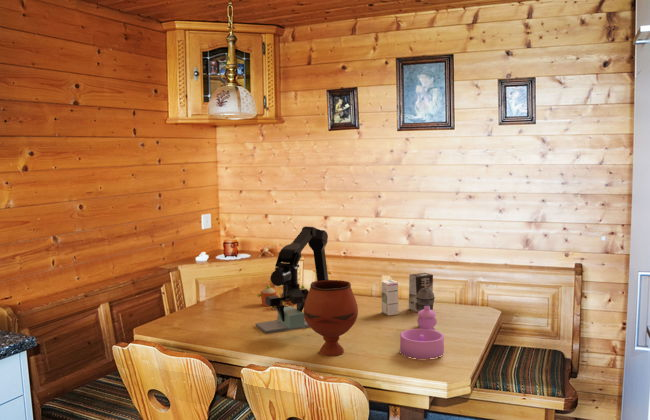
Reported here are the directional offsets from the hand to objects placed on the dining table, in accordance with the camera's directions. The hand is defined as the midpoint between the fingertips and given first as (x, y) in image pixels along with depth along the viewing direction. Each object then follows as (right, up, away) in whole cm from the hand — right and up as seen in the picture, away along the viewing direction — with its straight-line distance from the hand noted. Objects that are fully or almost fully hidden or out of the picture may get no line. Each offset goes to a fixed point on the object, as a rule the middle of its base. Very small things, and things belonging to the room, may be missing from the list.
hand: (290, 320), depth 222 cm
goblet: (+15, -8, -16) cm, 24 cm away
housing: (0, -1, 0) cm, 1 cm away
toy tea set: (-6, -2, +53) cm, 53 cm away
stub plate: (-4, -5, +15) cm, 17 cm away
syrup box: (+42, -3, +33) cm, 54 cm away
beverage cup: (+55, -5, +15) cm, 57 cm away
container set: (+49, -8, -13) cm, 51 cm away
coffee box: (+57, -3, +39) cm, 69 cm away
